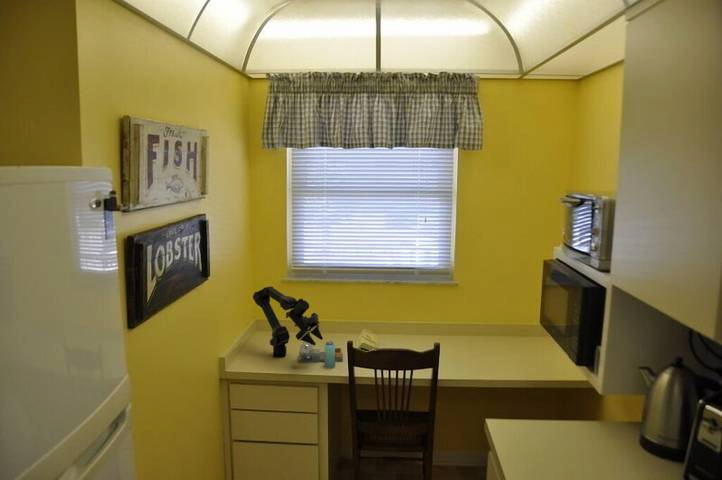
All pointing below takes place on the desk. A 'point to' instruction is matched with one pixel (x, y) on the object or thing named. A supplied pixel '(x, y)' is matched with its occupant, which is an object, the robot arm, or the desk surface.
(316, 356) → the motor assembly
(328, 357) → the teal cylinder grey dome
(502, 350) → the desk surface
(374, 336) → the plastic component
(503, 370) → the desk surface
